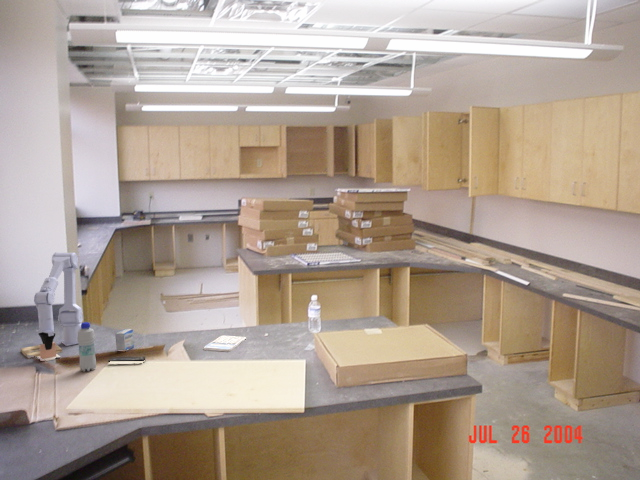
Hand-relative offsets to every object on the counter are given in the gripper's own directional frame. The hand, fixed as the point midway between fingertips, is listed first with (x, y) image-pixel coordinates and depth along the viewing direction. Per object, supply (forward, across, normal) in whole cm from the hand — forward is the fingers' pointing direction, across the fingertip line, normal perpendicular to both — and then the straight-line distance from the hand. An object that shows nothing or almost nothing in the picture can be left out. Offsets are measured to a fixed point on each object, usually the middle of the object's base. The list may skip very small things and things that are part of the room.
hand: (47, 348), depth 246 cm
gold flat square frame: (+4, -12, 0) cm, 13 cm away
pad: (+4, 0, 0) cm, 4 cm away
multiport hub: (+5, +30, +23) cm, 39 cm away
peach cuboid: (+4, 0, 0) cm, 4 cm away
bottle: (+4, +28, +8) cm, 29 cm away
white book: (+5, +36, +68) cm, 77 cm away
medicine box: (+4, +11, +30) cm, 32 cm away
